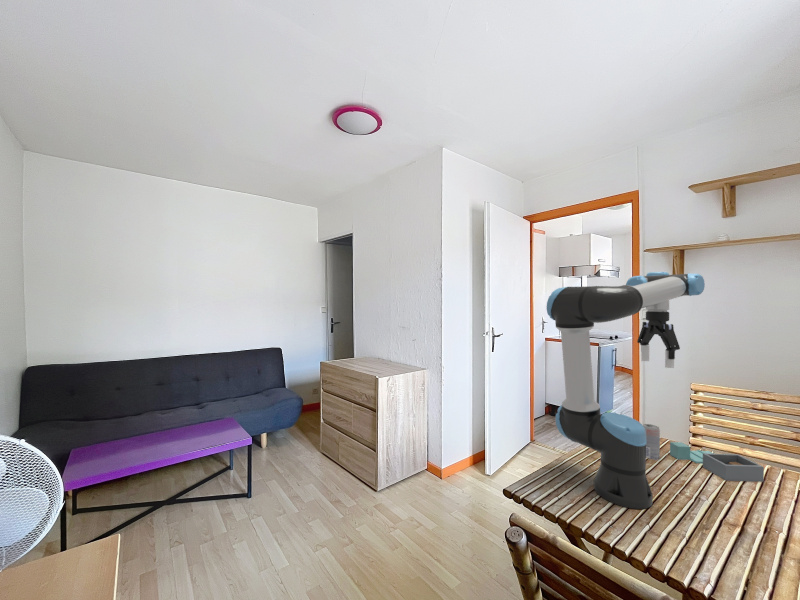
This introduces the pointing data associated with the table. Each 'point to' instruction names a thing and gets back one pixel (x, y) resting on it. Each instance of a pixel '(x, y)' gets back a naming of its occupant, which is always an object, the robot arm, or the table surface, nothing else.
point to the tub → (733, 467)
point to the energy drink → (652, 441)
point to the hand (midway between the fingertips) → (656, 364)
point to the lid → (686, 452)
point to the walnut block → (734, 463)
